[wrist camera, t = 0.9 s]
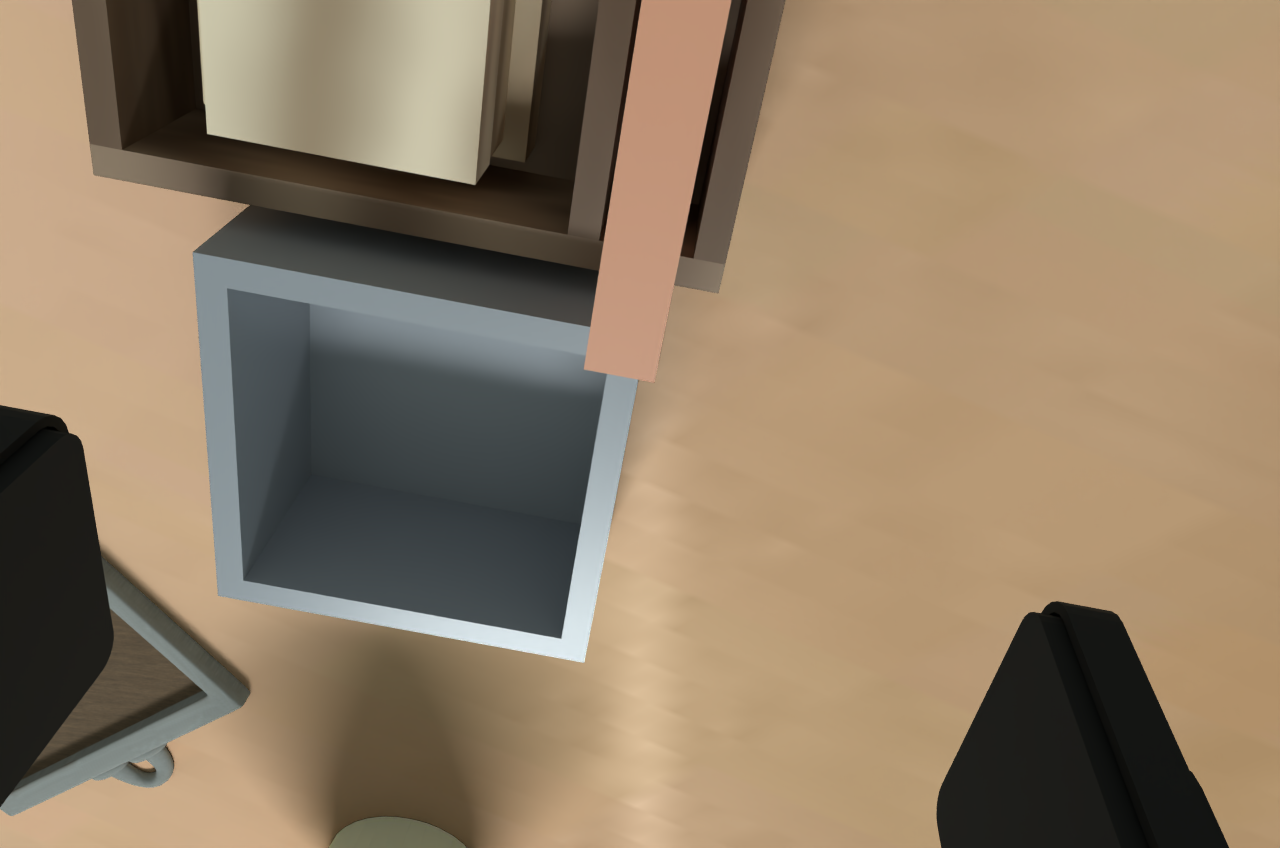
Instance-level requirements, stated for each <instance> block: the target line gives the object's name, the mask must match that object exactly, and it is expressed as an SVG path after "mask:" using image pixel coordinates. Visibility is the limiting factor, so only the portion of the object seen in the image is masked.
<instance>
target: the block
mask: <svg viewBox="0 0 1280 848" xmlns="http://www.w3.org/2000/svg"><path fill="white" fill-rule="evenodd" d="M730 5H731V0H642V2H641V8H640V14H639V21H638V27H637V34H636V40H635V46H634V53H633V59H632V65H631V72H630V78H629V84H628V91H627V97H626V103H625V110H624V116H623V123H622V129H621V135H620V142H619V148H618V154H617V161H616V167H615V173H614V180H613V186H612V193H611V199H610V205H609V212H608V218H607V224H606V231H605V237H604V243H603V250H602V256H601V263H600V269H599V275H598V282H597V288H596V294H595V301H594V307H593V313H592V320H591V326H590V332H589V339H588V345H587V352H586V358H585V364H584V370H589V371H595V372H600V373H605V374H611V375H616V376H621V377H627V378H632V379H637V380H643V381H648V382H653V383H654V382H655V377H656V372H657V367H658V362H659V357H660V352H661V347H662V342H663V338H664V333H665V328H666V323H667V318H668V313H669V308H670V303H671V298H672V293H673V288H674V283H675V278H676V273H677V268H678V263H679V258H680V253H681V248H682V243H683V238H684V233H685V228H686V223H687V218H688V214H689V209H690V204H691V199H692V194H693V189H694V184H695V179H696V174H697V169H698V164H699V159H700V154H701V149H702V144H703V139H704V134H705V129H706V124H707V119H708V114H709V109H710V104H711V99H712V94H713V90H714V85H715V80H716V75H717V70H718V65H719V60H720V55H721V50H722V45H723V40H724V35H725V30H726V25H727V20H728V15H729V10H730Z"/></svg>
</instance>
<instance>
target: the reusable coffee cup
mask: <svg viewBox="0 0 1280 848" xmlns="http://www.w3.org/2000/svg"><path fill="white" fill-rule="evenodd" d="M329 848H467V847H466V846H465V845H464V844H463V843H461V842H460V841H459V840H458V839H456V838H455V837H454V836H452V835H451V834H449V833H447V832H445V831H444V830H442V829H440V828H437V827H435V826H432V825H430V824H428V823H424V822H421V821H417V820H413V819H408V818H401V817H374V818H367V819H364V820H360V821H357V822H354V823H352V824H350V825H348V826H346V827H345V828H343V829H342V830H341V831H340V832H339V833H338V834H337V835H336V837H335V838H334V840H333V841H332V843H331V845H330V847H329Z"/></svg>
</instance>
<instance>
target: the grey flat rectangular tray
mask: <svg viewBox="0 0 1280 848" xmlns="http://www.w3.org/2000/svg"><path fill="white" fill-rule="evenodd" d="M101 558H102V564H103V570H104V576H105V582H106V588H107V594H108V600H109V606H110V612H111V618H112V624H113V631H114V641H113V648H112V651H111V655H110V657H109V660H108V662H107V664H106V666H105V667H104V669H103V671H102V672H101V673H100V675H99V676H98V677H97V679H96V680H95V682H94V683H93V684H92V686H91V687H90V688H89V690H88V691H87V692H86V694H85V695H84V696H83V698H82V699H81V700H80V702H79V703H78V704H77V706H76V707H75V708H74V710H73V711H72V712H71V714H70V715H69V716H68V718H67V719H66V720H65V722H64V723H63V724H62V726H61V727H60V728H59V730H58V731H57V732H56V734H55V735H54V736H53V738H52V739H51V740H50V742H49V743H48V744H47V746H46V747H45V748H44V750H43V751H42V752H41V754H40V755H39V756H38V758H37V759H36V760H35V762H34V763H33V764H32V766H31V767H30V768H29V770H28V771H27V772H26V774H25V775H24V776H23V778H22V779H21V780H20V782H19V783H18V784H17V786H16V787H15V788H14V790H13V791H12V792H11V794H10V795H9V796H8V798H7V799H6V800H5V802H4V803H3V804H2V806H1V807H0V809H1V810H2V811H4V812H5V813H7V814H8V815H10V816H13V815H16V814H18V813H20V812H23V811H25V810H27V809H29V808H31V807H33V806H35V805H37V804H39V803H41V802H44V801H46V800H48V799H50V798H52V797H54V796H56V795H58V794H60V793H63V792H65V791H67V790H69V789H71V788H73V787H75V786H77V785H79V784H81V783H84V782H86V781H88V780H90V779H94V780H103V779H106V778H109V777H111V776H112V777H114V778H116V779H119V780H121V781H123V782H126V783H129V784H132V785H135V786H139V787H146V788H148V787H157V786H160V785H162V784H163V783H165V782H166V781H167V780H168V779H169V778H170V776H171V775H172V773H173V769H174V763H173V759H172V757H171V755H170V753H169V751H168V750H167V748H166V747H165V746H166V744H167V743H168V742H170V741H172V740H174V739H176V738H178V737H180V736H182V735H185V734H187V733H189V732H191V731H193V730H195V729H197V728H199V727H201V726H203V725H206V724H208V723H210V722H212V721H214V720H216V719H218V718H220V717H222V716H224V715H227V714H229V713H231V712H233V711H235V710H237V709H239V708H241V707H242V706H243V705H244V703H245V702H246V700H247V698H248V696H249V695H250V691H249V690H248V689H247V688H246V687H245V686H244V685H243V684H242V683H241V682H240V681H239V680H237V679H236V678H235V677H234V676H233V675H232V674H231V673H230V672H229V671H228V670H226V669H225V668H224V667H223V666H222V665H221V664H220V663H219V662H218V661H216V660H215V659H214V658H213V657H212V656H211V655H210V654H209V653H208V652H207V651H205V650H204V649H203V648H202V647H201V646H200V645H199V644H198V643H197V642H196V641H194V640H193V639H192V638H191V637H190V636H189V635H188V634H187V633H186V632H184V631H183V630H182V629H181V628H180V627H179V626H178V625H177V624H176V623H175V622H173V621H172V620H171V619H170V618H169V617H168V616H167V615H166V614H165V613H164V612H162V611H161V610H160V609H159V608H158V607H157V606H156V605H155V604H154V603H152V602H151V601H150V600H149V599H148V598H147V597H146V596H145V595H144V594H143V593H141V592H140V591H139V590H138V589H137V588H136V587H135V586H134V585H133V584H132V583H130V582H129V581H128V580H127V579H126V578H125V577H124V576H123V575H122V574H120V573H119V572H118V571H117V570H116V569H115V568H114V567H113V566H112V565H111V564H109V563H108V562H107V561H106V560H105V559H104V558H103V557H102V556H101ZM145 760H147V761H148V762H149V763H151V764H152V765H153V766H154V768H155V769H156V771H155V772H151V773H148V772H144V771H141V770H139V769H137V768H136V767H134V766H133V765H132V764H130V763H129V761H130V762H132V763H138V762H142V761H145Z"/></svg>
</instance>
